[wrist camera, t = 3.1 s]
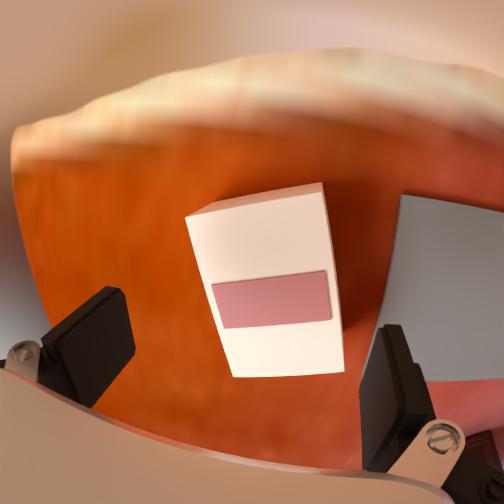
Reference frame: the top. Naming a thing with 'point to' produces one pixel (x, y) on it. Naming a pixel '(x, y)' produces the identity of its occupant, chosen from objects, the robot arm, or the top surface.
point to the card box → (272, 281)
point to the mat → (448, 288)
